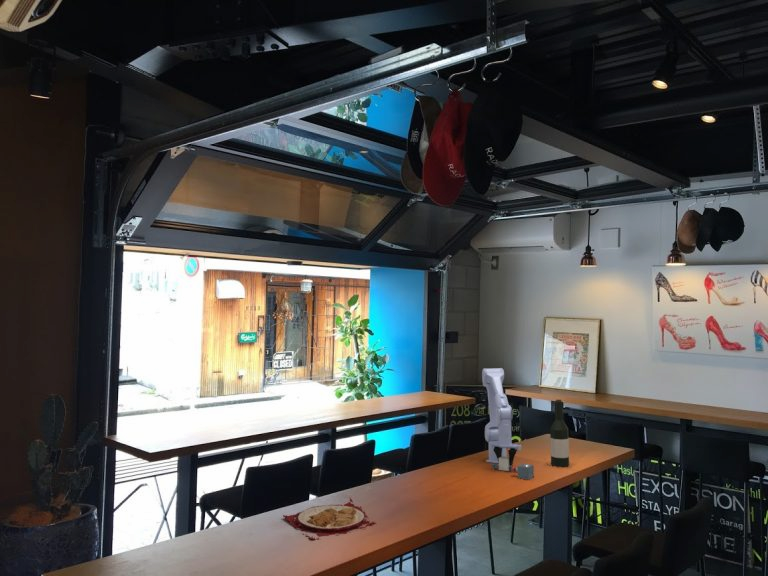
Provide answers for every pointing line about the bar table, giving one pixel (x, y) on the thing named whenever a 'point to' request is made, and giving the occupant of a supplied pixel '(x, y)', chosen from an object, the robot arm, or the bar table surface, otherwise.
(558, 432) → the wine bottle
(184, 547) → the bar table surface
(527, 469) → the gauge cabinet
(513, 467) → the plunger
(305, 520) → the plate with food
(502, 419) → the robot arm
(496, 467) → the rail
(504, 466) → the carriage
